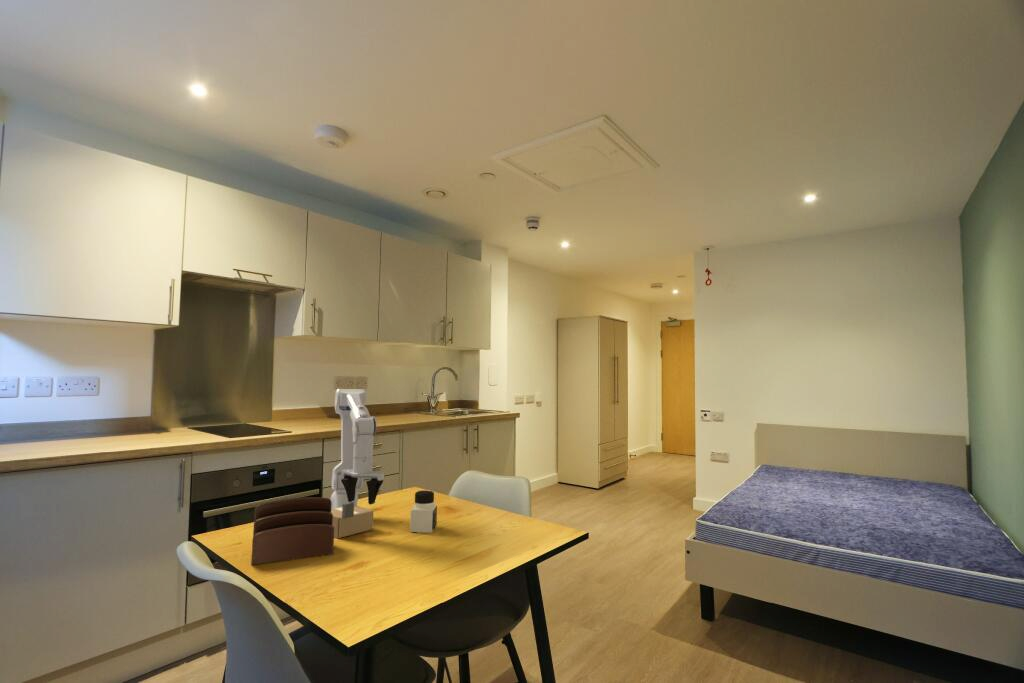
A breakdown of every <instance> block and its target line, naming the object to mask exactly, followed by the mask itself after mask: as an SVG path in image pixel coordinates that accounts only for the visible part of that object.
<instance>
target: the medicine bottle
mask: <svg viewBox="0 0 1024 683" xmlns="http://www.w3.org/2000/svg"><path fill="white" fill-rule="evenodd" d="M437 513H438V504H435V492H434V491H432V490H429V489H428V490H427V489H424V490H423V489H422V490H418V491H416V492H415V493H414V505H413V507H412V508H411V509H410V529H409V532H410V533H411V532H417V533H416V534H418V533H419V534H432V532H433V533H434V531H435V529H436V528H437V525H438V524H437V521H438V520H437V518H438V517H437V515H438V514H437Z"/></svg>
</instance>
